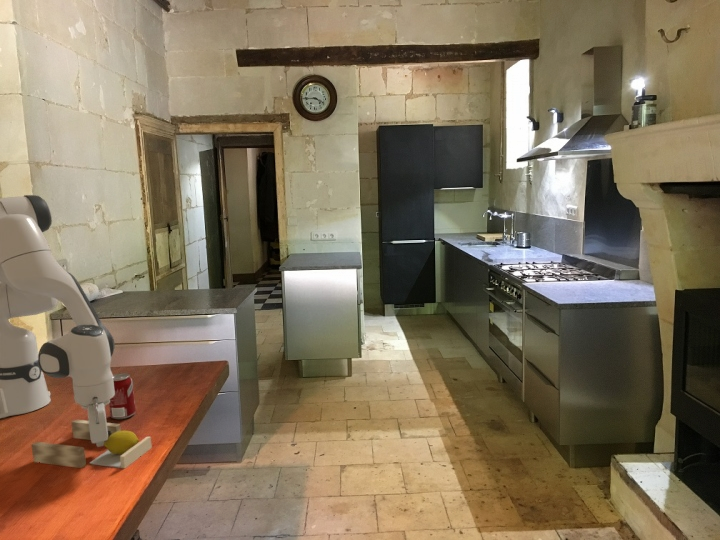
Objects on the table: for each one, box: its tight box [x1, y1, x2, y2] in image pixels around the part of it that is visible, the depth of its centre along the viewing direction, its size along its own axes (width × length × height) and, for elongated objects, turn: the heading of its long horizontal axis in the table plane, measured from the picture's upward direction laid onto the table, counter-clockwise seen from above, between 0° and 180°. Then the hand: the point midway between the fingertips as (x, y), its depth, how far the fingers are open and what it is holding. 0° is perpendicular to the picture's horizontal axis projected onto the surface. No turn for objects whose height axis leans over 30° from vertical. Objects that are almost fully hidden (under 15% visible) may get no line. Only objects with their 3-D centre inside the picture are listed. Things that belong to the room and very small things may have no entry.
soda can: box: [108, 372, 137, 420], centre depth 152 cm, size 7×7×12 cm
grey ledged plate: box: [89, 436, 153, 469], centre depth 130 cm, size 10×10×3 cm
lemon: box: [103, 430, 140, 454], centre depth 130 cm, size 6×6×8 cm
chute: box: [30, 419, 122, 469], centre depth 133 cm, size 14×14×4 cm
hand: (100, 444), depth 131 cm, fingers closed
